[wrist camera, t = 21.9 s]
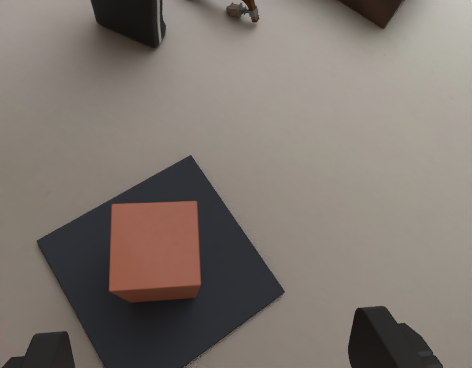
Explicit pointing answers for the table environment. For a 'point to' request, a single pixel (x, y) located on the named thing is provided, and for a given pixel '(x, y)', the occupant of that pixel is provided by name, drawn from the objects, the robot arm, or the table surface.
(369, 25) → the table surface
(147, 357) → the mat
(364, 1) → the storage box
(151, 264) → the small box
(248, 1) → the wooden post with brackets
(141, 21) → the battery charger
